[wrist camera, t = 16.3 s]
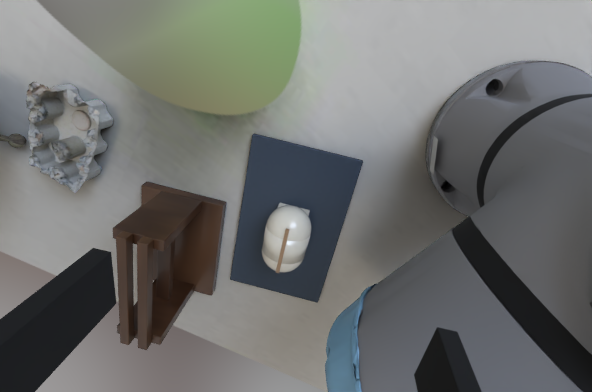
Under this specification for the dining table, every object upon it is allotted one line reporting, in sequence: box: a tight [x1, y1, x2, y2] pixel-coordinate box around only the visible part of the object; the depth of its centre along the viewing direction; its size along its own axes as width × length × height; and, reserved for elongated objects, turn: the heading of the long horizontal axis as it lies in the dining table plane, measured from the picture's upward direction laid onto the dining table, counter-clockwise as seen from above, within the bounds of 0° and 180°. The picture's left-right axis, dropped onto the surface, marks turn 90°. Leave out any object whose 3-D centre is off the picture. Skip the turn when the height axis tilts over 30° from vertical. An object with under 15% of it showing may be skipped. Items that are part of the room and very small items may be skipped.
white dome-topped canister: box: [261, 203, 312, 273], centre depth 35 cm, size 5×8×5 cm, turn 168°
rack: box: [113, 182, 226, 350], centre depth 36 cm, size 10×14×11 cm
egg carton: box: [26, 82, 113, 193], centre depth 35 cm, size 11×8×4 cm
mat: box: [230, 134, 363, 302], centre depth 38 cm, size 12×20×1 cm, turn 168°
